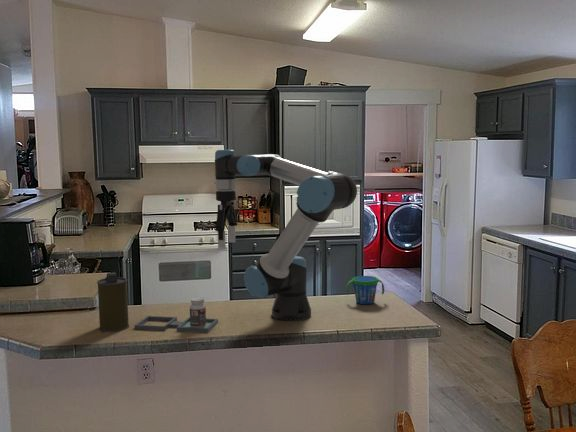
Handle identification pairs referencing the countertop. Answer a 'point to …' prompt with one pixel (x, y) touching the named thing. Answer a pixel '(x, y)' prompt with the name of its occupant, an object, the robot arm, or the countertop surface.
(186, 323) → the double square frame
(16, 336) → the countertop surface
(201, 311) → the pill bottle
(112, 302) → the canister
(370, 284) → the snack cup
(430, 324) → the countertop surface
